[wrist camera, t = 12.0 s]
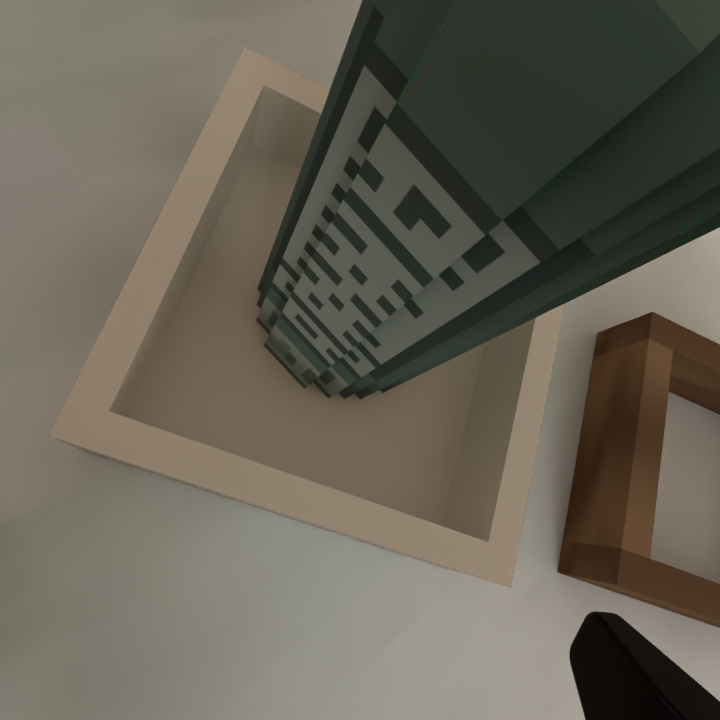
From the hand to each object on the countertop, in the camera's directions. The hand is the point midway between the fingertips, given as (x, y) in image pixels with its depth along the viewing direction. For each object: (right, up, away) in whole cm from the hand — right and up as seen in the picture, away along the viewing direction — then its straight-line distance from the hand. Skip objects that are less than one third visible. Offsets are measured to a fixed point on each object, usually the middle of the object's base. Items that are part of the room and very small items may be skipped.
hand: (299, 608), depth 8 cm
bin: (0, +4, +12) cm, 13 cm away
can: (0, +5, +12) cm, 13 cm away
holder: (+15, -2, +15) cm, 21 cm away
